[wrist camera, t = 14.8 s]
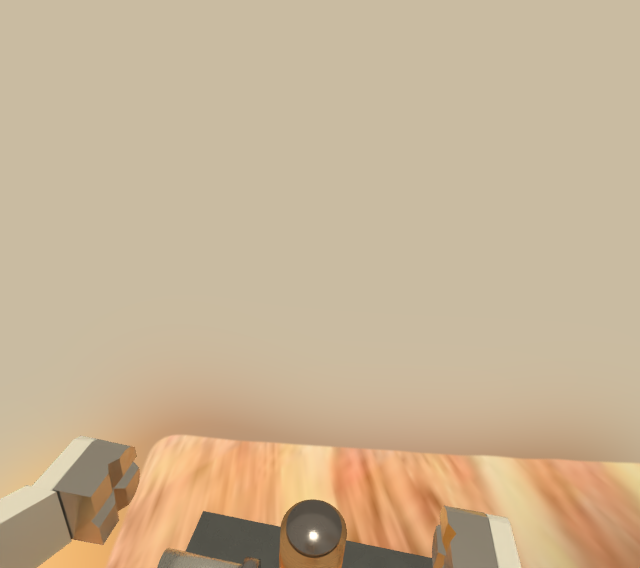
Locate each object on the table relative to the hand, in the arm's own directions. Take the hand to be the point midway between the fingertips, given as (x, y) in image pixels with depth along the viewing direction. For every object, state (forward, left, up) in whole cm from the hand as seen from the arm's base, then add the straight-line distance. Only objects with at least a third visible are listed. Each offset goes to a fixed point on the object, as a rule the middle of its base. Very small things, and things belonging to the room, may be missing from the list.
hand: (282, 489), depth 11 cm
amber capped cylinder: (-9, -8, -31) cm, 34 cm away
